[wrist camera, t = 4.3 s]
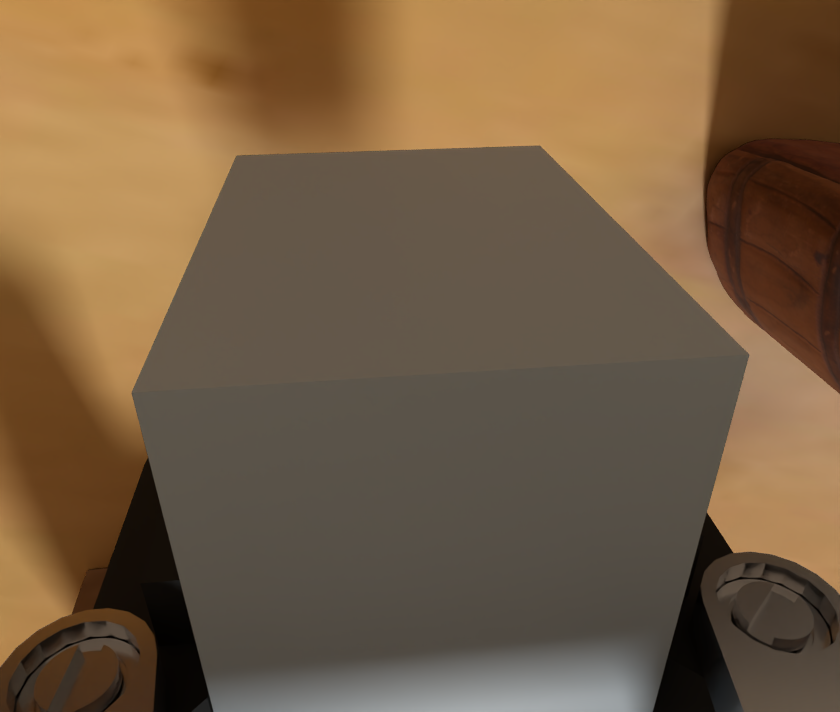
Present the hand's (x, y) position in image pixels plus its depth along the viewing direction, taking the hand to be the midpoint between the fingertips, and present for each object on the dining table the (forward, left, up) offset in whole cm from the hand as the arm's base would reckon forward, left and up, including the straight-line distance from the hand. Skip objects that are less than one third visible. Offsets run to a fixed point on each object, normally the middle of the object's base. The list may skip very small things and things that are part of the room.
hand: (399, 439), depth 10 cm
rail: (0, +3, 0) cm, 3 cm away
